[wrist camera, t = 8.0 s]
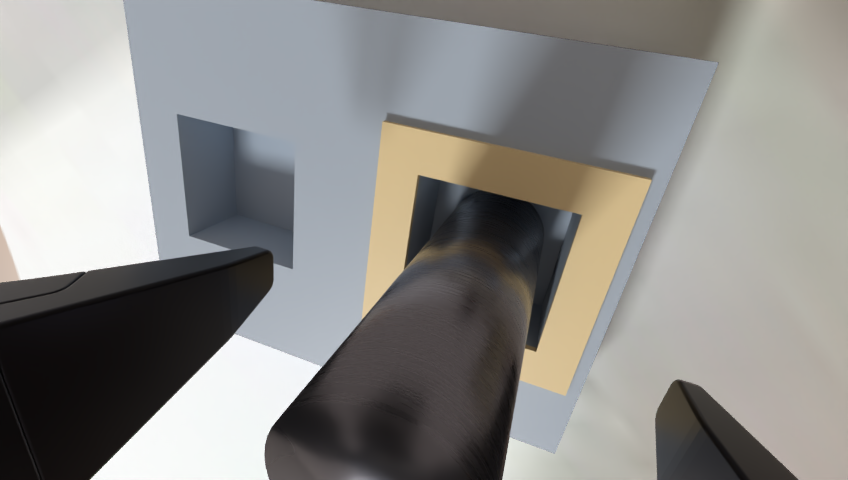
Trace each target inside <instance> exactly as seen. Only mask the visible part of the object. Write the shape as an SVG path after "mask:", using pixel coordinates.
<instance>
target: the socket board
mask: <svg viewBox="0 0 848 480" xmlns="http://www.w3.org/2000/svg"><path fill="white" fill-rule="evenodd" d="M123 2H124V9H125V16H126V23H127V30H128V38H129V45H130V52H131V59H132V66H133V73H134V81H135V88H136V95H137V102H138V109H139V116H140V124H141V131H142V138H143V145H144V152H145V159H146V167H147V174H148V181H149V188H150V195H151V202H152V210H153V217H154V224H155V231H156V238H157V245H158V253H159V260H165V259H172V258H179V257H186V256H192V255H199V254H206V253H213V252H219V251H226V250H233V249H240V248H246V247H253V246H257V247H261V248H264V249H267V250H270V251H271V252H272V253H273V257H274V281H273V285H272V288H271V289H270V291H269V292H268V293H267V295H266V296H265V297H264V298H263V300H262V301H261V302H260V303H259V305H258V306H257V307H256V308H255V309H254V311H253V312H252V313H251V314H250V316H249V317H248V318H247V319H246V321H245V322H244V323H243V324H242V325H241V327H240V328H239V329H238V330H237V331H236V333H235V334H237V335H240V336H242V337H245V338H248V339H250V340H253V341H256V342H258V343H261V344H264V345H266V346H269V347H272V348H274V349H277V350H280V351H282V352H285V353H288V354H290V355H293V356H296V357H298V358H301V359H304V360H306V361H309V362H312V363H314V364H317V365H320V366H322V367H323V365H324V364H325V363H326V362H327V361H328V360H329V358H330V357H331V356H332V355H333V354H334V352H335V351H336V350H337V349H338V348H339V346H340V345H341V344H342V343H343V342H344V340H345V339H346V338H347V337H348V336H349V335H350V333H351V332H352V331H353V330H354V329H355V327H356V326H357V325H358V324H359V323H360V321H361V320H362V319H363V318H364V317H365V316H366V314H367V313H368V312H369V311H370V310H371V308H372V307H373V306H374V305H375V304H376V302H377V301H378V300H379V299H380V298H381V297H382V295H383V294H384V293H385V292H386V291H387V289H388V288H389V287H390V286H391V285H392V283H393V282H394V281H395V280H396V279H397V278H398V276H399V275H400V274H401V273H402V272H403V270H404V269H405V268H406V267H407V266H408V264H409V263H410V262H411V261H412V260H413V258H414V257H415V256H416V255H417V254H418V253H419V251H420V250H421V249H422V248H423V247H424V245H425V244H426V243H427V242H428V241H429V239H430V238H431V237H432V236H433V235H434V234H435V232H436V231H437V230H438V229H439V228H440V226H441V225H442V224H443V223H444V222H445V220H446V219H447V218H448V217H449V216H450V215H451V213H452V212H453V211H454V210H455V209H456V207H457V206H458V205H459V204H460V203H461V202H462V201H463V200H464V199H465V198H466V197H468V196H469V195H471V194H473V193H475V192H477V191H480V190H482V191H487V192H491V193H495V194H499V195H503V196H507V197H511V198H515V199H519V200H523V201H527V202H530V203H531V204H532V205H533V206H534V208H535V209H536V210H537V212H538V214H539V216H540V218H541V220H542V223H543V228H544V242H543V248H542V254H541V259H540V265H539V271H538V277H537V282H536V288H535V294H534V299H533V305H532V311H531V317H530V322H529V328H528V334H527V340H526V345H525V351H524V357H523V362H522V368H521V374H520V380H519V385H518V391H517V397H516V403H515V408H514V414H513V420H512V425H511V431H510V437H511V438H514V439H517V440H519V441H522V442H525V443H527V444H530V445H533V446H535V447H538V448H541V449H543V450H546V451H549V452H551V453H554V454H555V452H556V450H557V447H558V445H559V443H560V440H561V438H562V435H563V433H564V431H565V428H566V426H567V424H568V421H569V419H570V416H571V414H572V412H573V409H574V407H575V404H576V402H577V400H578V397H579V395H580V392H581V390H582V388H583V385H584V383H585V381H586V378H587V376H588V373H589V371H590V369H591V366H592V364H593V361H594V359H595V357H596V354H597V352H598V350H599V347H600V345H601V342H602V340H603V338H604V335H605V333H606V330H607V328H608V326H609V323H610V321H611V319H612V316H613V314H614V311H615V309H616V307H617V304H618V302H619V299H620V297H621V295H622V292H623V290H624V288H625V285H626V283H627V280H628V278H629V276H630V273H631V271H632V268H633V266H634V264H635V261H636V259H637V257H638V254H639V252H640V249H641V247H642V245H643V242H644V240H645V237H646V235H647V233H648V230H649V228H650V225H651V223H652V221H653V218H654V216H655V214H656V211H657V209H658V206H659V204H660V202H661V199H662V197H663V194H664V192H665V190H666V187H667V185H668V183H669V180H670V178H671V175H672V173H673V171H674V168H675V166H676V163H677V161H678V159H679V156H680V154H681V152H682V149H683V147H684V144H685V142H686V140H687V137H688V135H689V132H690V130H691V128H692V125H693V123H694V121H695V118H696V116H697V113H698V111H699V109H700V106H701V104H702V101H703V99H704V97H705V94H706V92H707V90H708V87H709V85H710V82H711V80H712V78H713V75H714V73H715V70H716V68H717V66H718V63H719V62H713V61H706V60H700V59H693V58H687V57H680V56H674V55H667V54H661V53H654V52H648V51H641V50H634V49H628V48H621V47H615V46H608V45H602V44H595V43H589V42H582V41H576V40H569V39H563V38H556V37H550V36H543V35H537V34H530V33H524V32H517V31H511V30H504V29H497V28H491V27H484V26H478V25H471V24H465V23H458V22H452V21H445V20H439V19H432V18H426V17H419V16H413V15H406V14H400V13H393V12H387V11H380V10H374V9H367V8H360V7H354V6H347V5H341V4H334V3H328V2H321V1H315V0H123Z"/></svg>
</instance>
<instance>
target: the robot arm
mask: <svg viewBox="0 0 848 480" xmlns="http://www.w3.org/2000/svg"><path fill="white" fill-rule="evenodd" d="M273 281H274V257H273V253H272V252H271V251H270V250H267V249H264V248H261V247H257V246H253V247H246V248H240V249H233V250H226V251H219V252H213V253H206V254H199V255H192V256H186V257H179V258H172V259H165V260H159V261H152V262H145V263H139V264H132V265H125V266H118V267H112V268H105V269H98V270H91V271H88V272H77V273H71V274H64V275H57V276H50V277H42V278H35V279H27V280H19V281H11V282H2V283H0V480H90V479H91V478H92V477H93V476H94V475H95V474H96V473H97V472H98V471H99V470H100V469H101V468H102V467H103V466H104V465H105V464H106V463H107V462H108V461H109V460H110V459H111V458H112V457H113V456H114V455H115V454H116V453H117V452H118V451H119V450H120V449H121V448H122V447H123V446H124V445H125V444H126V443H127V442H128V441H129V440H130V439H131V438H132V437H133V436H134V435H135V434H136V433H137V432H138V431H139V430H140V429H141V428H142V427H143V426H144V425H145V424H146V423H147V422H148V421H149V420H150V419H151V418H152V417H153V416H154V415H155V414H156V413H157V412H158V411H159V410H160V409H161V408H162V407H163V406H164V405H165V404H166V403H167V402H168V401H169V400H170V399H171V398H172V397H173V396H174V395H175V394H176V393H177V392H178V391H179V390H180V389H181V388H182V387H183V386H184V385H185V384H186V383H187V382H188V381H189V380H190V379H191V378H192V377H193V376H194V375H195V374H196V373H197V372H198V371H199V370H200V369H201V368H202V367H203V366H204V365H205V364H206V363H207V362H208V361H209V360H210V359H211V357H212V356H213V355H214V354H215V353H216V352H217V351H218V350H219V349H220V348H221V347H222V346H223V345H224V344H225V343H226V342H227V341H228V340H229V339H230V338H231V337H232V336H233V335H234V334H235V333H236V331H237V330H238V329H239V328H240V327H241V325H242V324H243V323H244V322H245V321H246V319H247V318H248V317H249V316H250V314H251V313H252V312H253V311H254V309H255V308H256V307H257V306H258V305H259V303H260V302H261V301H262V300H263V298H264V297H265V296H266V295H267V293H268V292H269V291H270V289H271V288H272V285H273ZM655 429H656V458H657V480H798V479H797V478H796V477H795V476H794V475H793V474H792V473H791V472H790V471H789V470H788V469H787V468H786V467H785V466H784V465H783V464H782V463H780V462H779V461H778V460H777V459H776V458H775V457H774V456H773V455H772V454H771V453H770V452H769V451H768V450H767V449H766V448H765V447H764V446H763V445H762V444H761V443H759V442H758V441H757V440H756V439H755V438H754V437H753V436H752V435H751V434H750V433H749V432H748V431H747V430H746V429H745V428H744V427H743V426H742V425H741V424H739V423H738V422H737V421H736V420H735V419H734V418H733V417H732V416H731V415H730V414H729V413H728V412H727V411H726V410H725V409H724V408H723V407H722V406H721V405H720V404H718V403H717V402H716V401H715V400H714V399H713V398H712V397H711V396H710V395H709V394H708V393H707V392H706V391H705V390H704V389H703V388H702V387H700V386H698V385H696V384H692V383H689V382H686V381H683V380H679V379H678V380H675V381H674V382H673V383H672V384H671V386H670V387H669V389H668V391H667V393H666V395H665V397H664V398H663V400H662V402H661V404H660V406H659V408H658V410H657V413H656V418H655Z"/></svg>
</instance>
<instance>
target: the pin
mask: <svg viewBox="0 0 848 480" xmlns="http://www.w3.org/2000/svg"><path fill="white" fill-rule="evenodd" d="M543 242H544V228H543V223H542V220H541V218H540V216H539V214H538V212H537V210H536V209H535V208H534V206H533V205H532V204H531V203H530V202H527V201H523V200H519V199H515V198H511V197H507V196H503V195H499V194H495V193H491V192H487V191H482V190H480V191H477V192H475V193H473V194H471V195H469V196H468V197H466V198H465V199H464V200H463V201H462V202H461V203H460V204H459V205H458V206H457V207H456V209H455V210H454V211H453V212H452V213H451V215H450V216H449V217H448V218H447V219H446V220H445V222H444V223H443V224H442V225H441V226H440V228H439V229H438V230H437V231H436V232H435V234H434V235H433V236H432V237H431V238H430V239H429V241H428V242H427V243H426V244H425V245H424V247H423V248H422V249H421V250H420V251H419V253H418V254H417V255H416V256H415V257H414V258H413V260H412V261H411V262H410V263H409V264H408V266H407V267H406V268H405V269H404V270H403V272H402V273H401V274H400V275H399V276H398V278H397V279H396V280H395V281H394V282H393V283H392V285H391V286H390V287H389V288H388V289H387V291H386V292H385V293H384V294H383V295H382V297H381V298H380V299H379V300H378V301H377V302H376V304H375V305H374V306H373V307H372V308H371V310H370V311H369V312H368V313H367V314H366V316H365V317H364V318H363V319H362V320H361V321H360V323H359V324H358V325H357V326H356V327H355V329H354V330H353V331H352V332H351V333H350V335H349V336H348V337H347V338H346V339H345V340H344V342H343V343H342V344H341V345H340V346H339V348H338V349H337V350H336V351H335V352H334V354H333V355H332V356H331V357H330V358H329V360H328V361H327V362H326V363H325V364H324V365H323V367H322V368H321V369H320V370H319V371H318V373H317V374H316V375H315V376H314V377H313V379H312V380H311V381H310V382H309V383H308V384H307V386H306V387H305V388H304V389H303V390H302V392H301V393H300V394H299V395H298V396H297V398H296V399H295V400H294V401H293V402H292V403H291V405H290V406H289V407H288V408H287V409H286V411H285V412H284V413H283V414H282V415H281V417H280V418H279V419H278V420H277V421H276V423H275V424H274V425H273V426H272V428H271V430H270V432H269V434H268V436H267V440H266V444H265V465H266V469H267V473H268V477H269V480H502V477H503V471H504V465H505V460H506V454H507V448H508V443H509V437H510V431H511V425H512V420H513V414H514V408H515V403H516V397H517V391H518V385H519V380H520V374H521V368H522V362H523V357H524V351H525V345H526V340H527V334H528V328H529V322H530V317H531V311H532V305H533V299H534V294H535V288H536V282H537V277H538V271H539V265H540V259H541V254H542V248H543Z"/></svg>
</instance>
